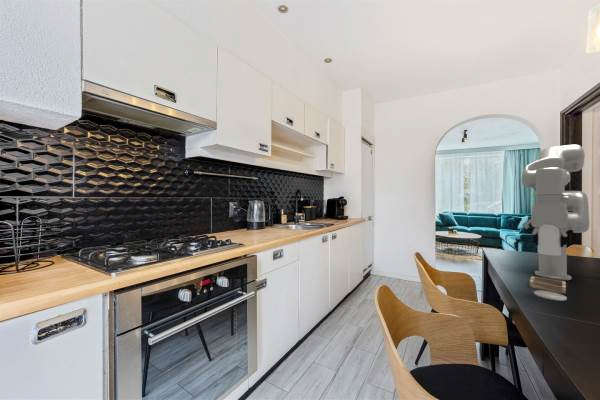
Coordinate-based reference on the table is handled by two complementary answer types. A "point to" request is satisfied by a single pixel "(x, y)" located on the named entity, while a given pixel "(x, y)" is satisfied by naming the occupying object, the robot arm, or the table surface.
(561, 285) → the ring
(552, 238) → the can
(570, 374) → the table surface
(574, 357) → the table surface
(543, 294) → the coaster
